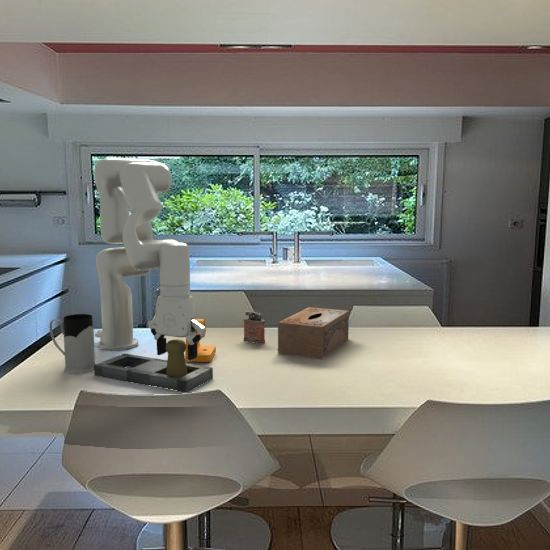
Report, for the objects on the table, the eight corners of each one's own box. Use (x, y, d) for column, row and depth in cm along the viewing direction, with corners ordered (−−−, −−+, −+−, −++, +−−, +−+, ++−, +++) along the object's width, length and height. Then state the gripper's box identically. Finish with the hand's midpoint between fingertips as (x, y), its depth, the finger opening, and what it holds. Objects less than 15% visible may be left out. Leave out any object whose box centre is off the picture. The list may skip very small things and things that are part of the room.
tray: (94, 375, 148) (93, 364, 147) (124, 363, 158) (124, 353, 158) (186, 392, 135) (186, 381, 134) (212, 378, 145) (212, 367, 145)
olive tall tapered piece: (177, 386, 139) (176, 344, 137) (160, 382, 142) (158, 341, 141) (193, 380, 144) (192, 339, 142) (176, 376, 147) (175, 336, 146)
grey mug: (82, 376, 147) (80, 321, 145) (41, 370, 152) (37, 317, 150) (103, 366, 155) (101, 314, 153) (63, 361, 160) (60, 311, 158)
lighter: (267, 342, 182) (267, 312, 180) (261, 344, 179) (261, 314, 178) (247, 338, 186) (247, 309, 185) (241, 340, 183) (241, 311, 182)
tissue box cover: (322, 359, 163) (322, 327, 161) (277, 354, 169) (277, 322, 167) (348, 339, 186) (348, 310, 184) (308, 335, 192) (308, 307, 191)
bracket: (210, 364, 158) (209, 323, 156) (185, 363, 158) (184, 323, 157) (216, 353, 168) (215, 315, 167) (193, 353, 169) (192, 315, 167)
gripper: (138, 290, 140) (141, 355, 142) (195, 296, 132) (196, 364, 135) (157, 286, 147) (159, 348, 149) (212, 291, 139) (213, 356, 142)
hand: (177, 356), depth 142 cm, fingers open, 9 cm apart
